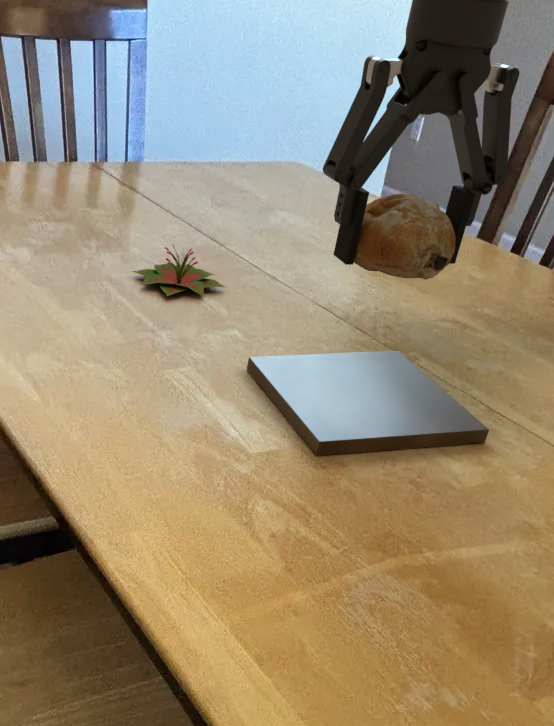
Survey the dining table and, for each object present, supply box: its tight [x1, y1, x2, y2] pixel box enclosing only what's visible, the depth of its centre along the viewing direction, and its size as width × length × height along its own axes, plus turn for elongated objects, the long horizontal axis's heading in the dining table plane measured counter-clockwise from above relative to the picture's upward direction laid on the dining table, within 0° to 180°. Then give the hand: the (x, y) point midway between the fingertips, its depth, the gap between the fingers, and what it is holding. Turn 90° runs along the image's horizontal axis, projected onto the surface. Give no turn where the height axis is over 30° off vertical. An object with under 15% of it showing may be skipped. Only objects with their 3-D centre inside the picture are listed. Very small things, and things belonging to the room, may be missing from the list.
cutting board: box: [246, 349, 490, 457], centre depth 89 cm, size 18×18×2 cm
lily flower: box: [131, 244, 226, 297], centre depth 111 cm, size 12×12×5 cm
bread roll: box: [353, 192, 456, 280], centre depth 82 cm, size 10×10×8 cm
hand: (394, 259), depth 84 cm, fingers closed on bread roll, 10 cm apart
